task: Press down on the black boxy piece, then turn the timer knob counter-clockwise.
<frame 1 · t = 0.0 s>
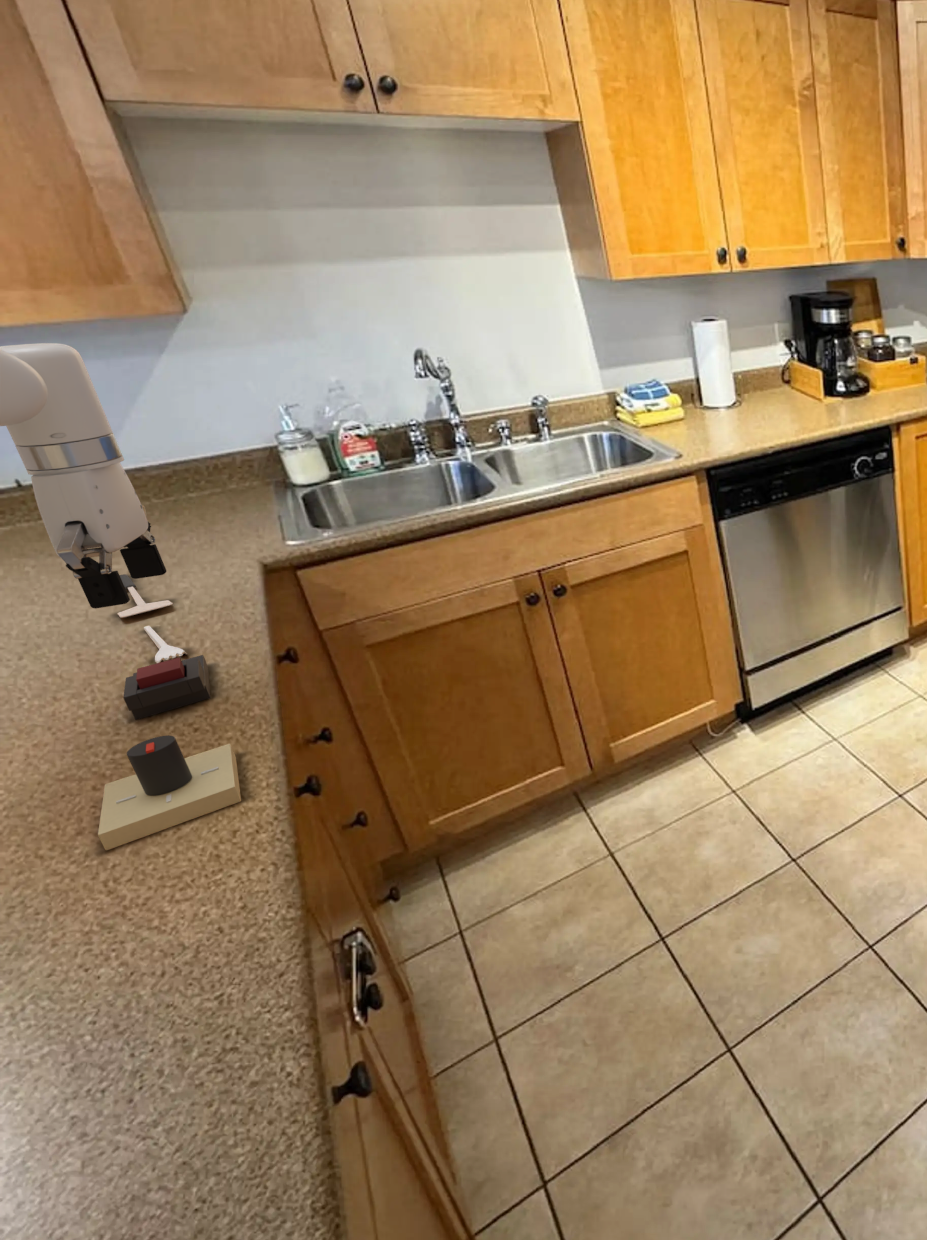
hand: (131, 590, 94), 17 cm above the counter, tool pointing down, fingers open, 9 cm apart
black boxy piece: (174, 692, 104), on the counter
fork: (163, 648, 116), on the counter
stapler top: (161, 673, 100), point 4 cm above the counter, slide at 0.1 cm
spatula: (136, 597, 134), on the counter
timer knob: (159, 764, 81), point 5 cm above the counter, hinge at 0.0°
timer: (176, 800, 83), on the counter
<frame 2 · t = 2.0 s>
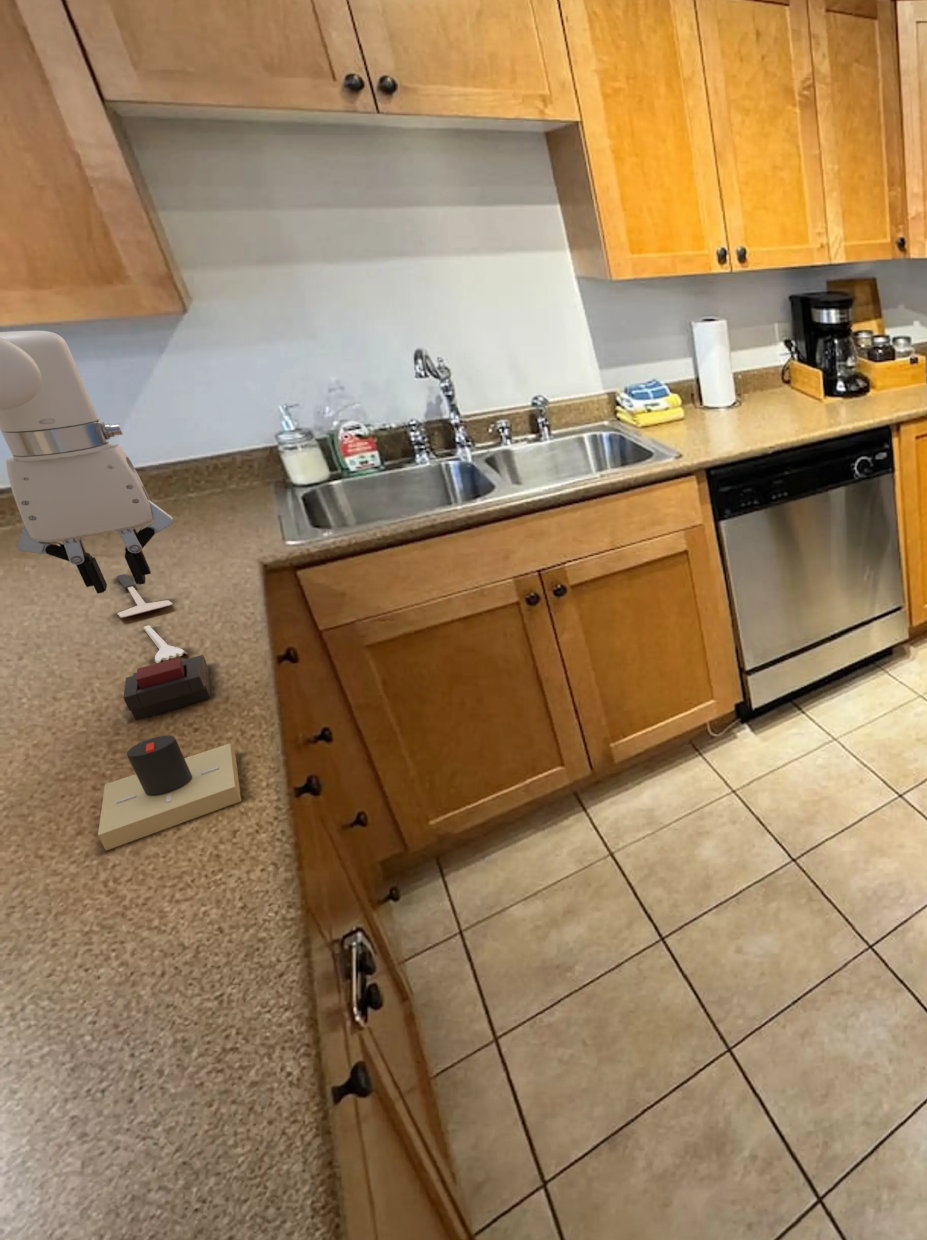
hand: (121, 584, 95), 17 cm above the counter, tool pointing down, fingers closed
nothing on the counter moved.
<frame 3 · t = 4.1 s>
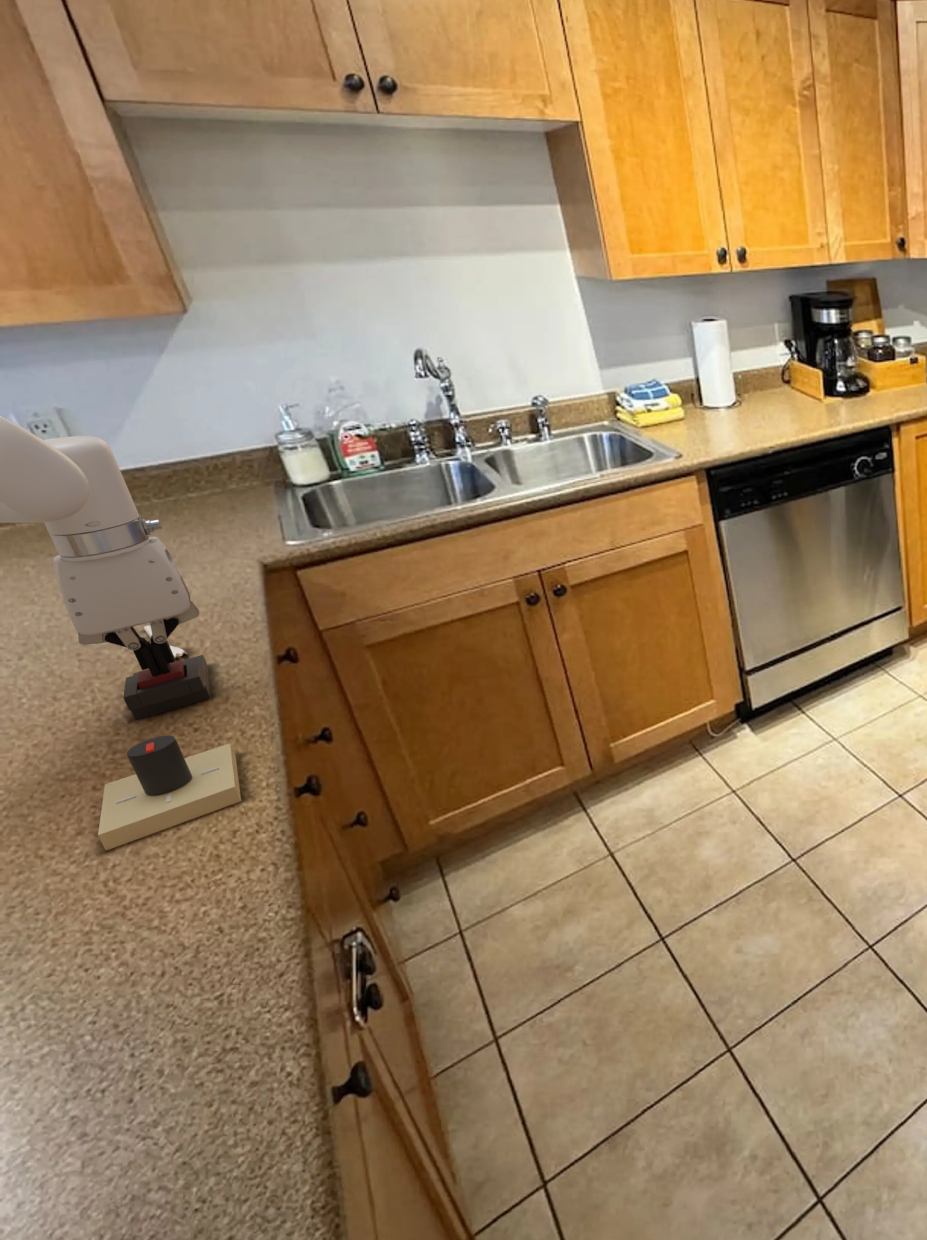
hand: (161, 670, 100), 5 cm above the counter, tool pointing down, fingers closed
stapler top: (162, 677, 100), point 4 cm above the counter, slide at -0.4 cm, touching gripper
everything else where it was.
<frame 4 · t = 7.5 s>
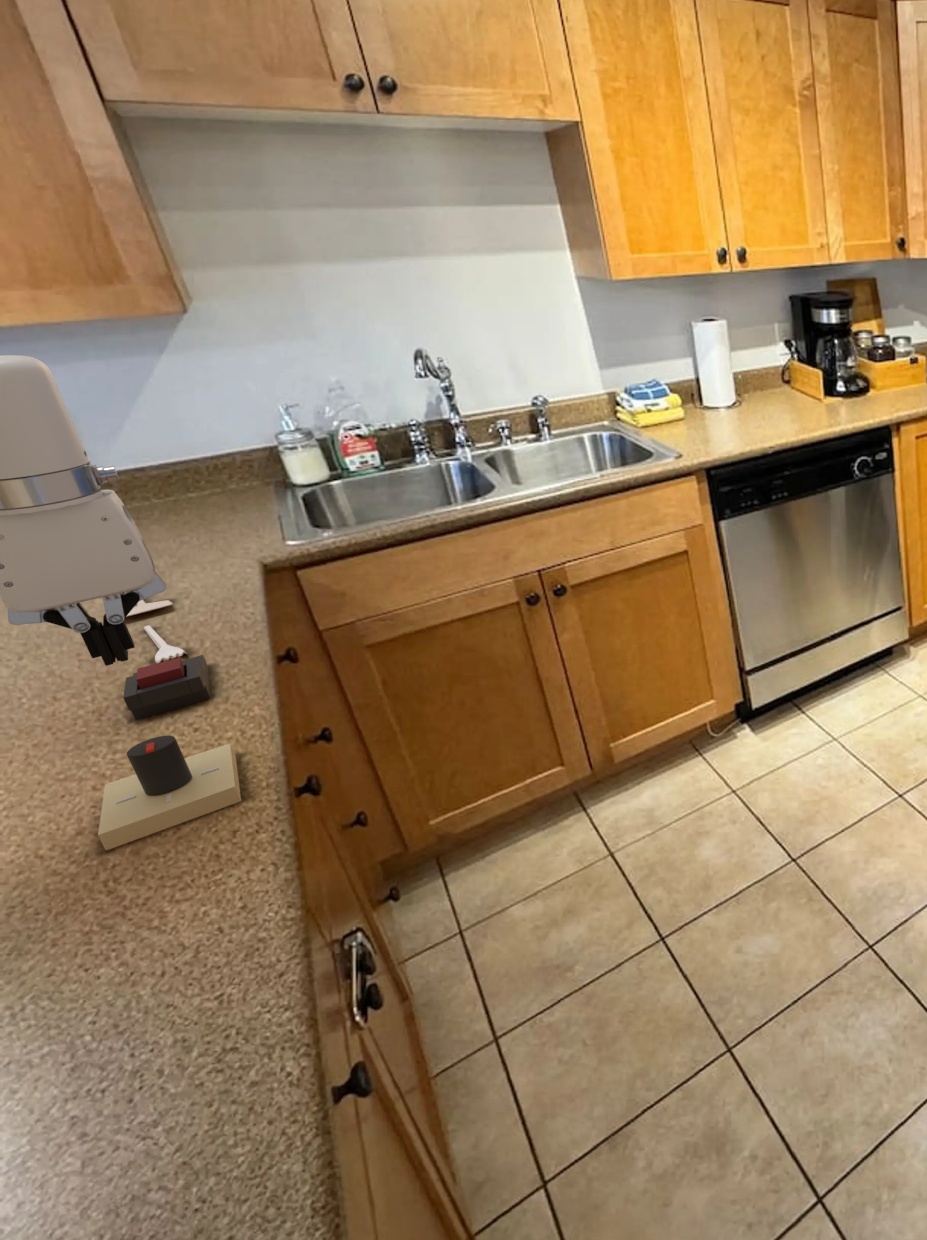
hand: (117, 658, 79), 16 cm above the counter, tool pointing down, fingers closed
stapler top: (161, 673, 100), point 4 cm above the counter, slide at 0.1 cm
everything else where it was.
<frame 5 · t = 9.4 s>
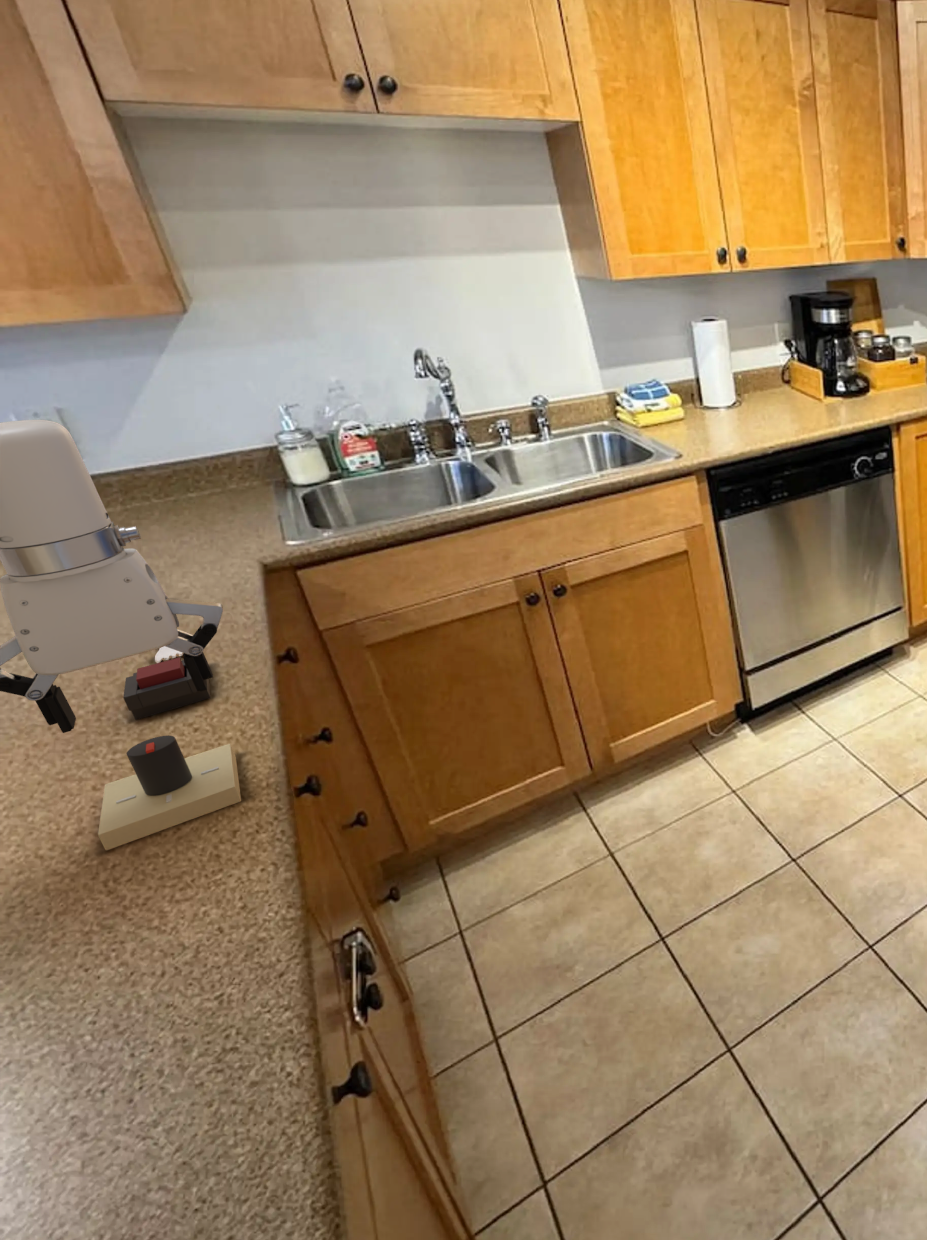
hand: (138, 705, 79), 12 cm above the counter, tool pointing down, fingers open, 9 cm apart
nothing on the counter moved.
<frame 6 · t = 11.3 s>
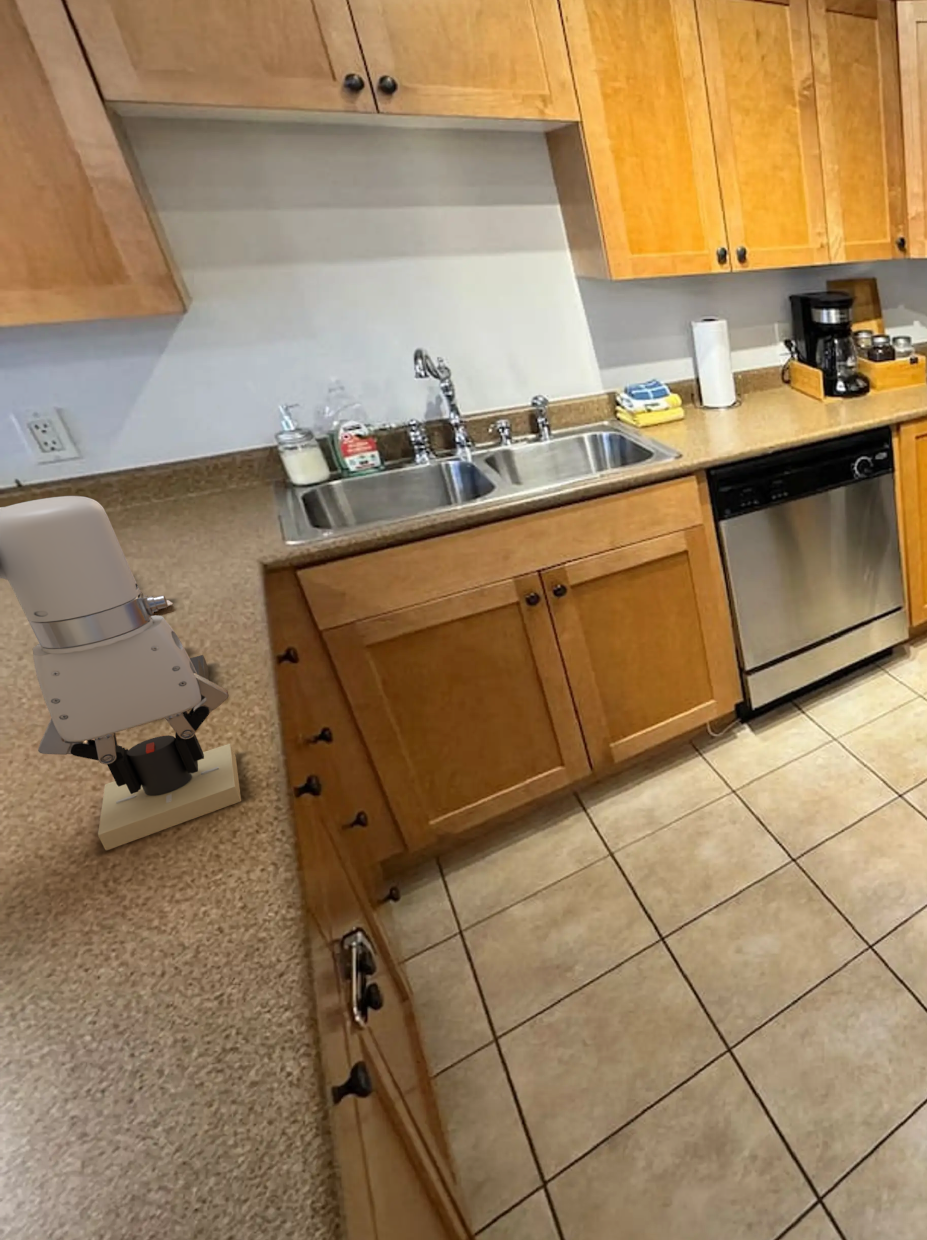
hand: (164, 775, 81), 3 cm above the counter, tool pointing down, fingers closed on timer knob, 3 cm apart
timer knob: (159, 764, 81), point 5 cm above the counter, hinge at 0.0°, touching gripper
everything else where it was.
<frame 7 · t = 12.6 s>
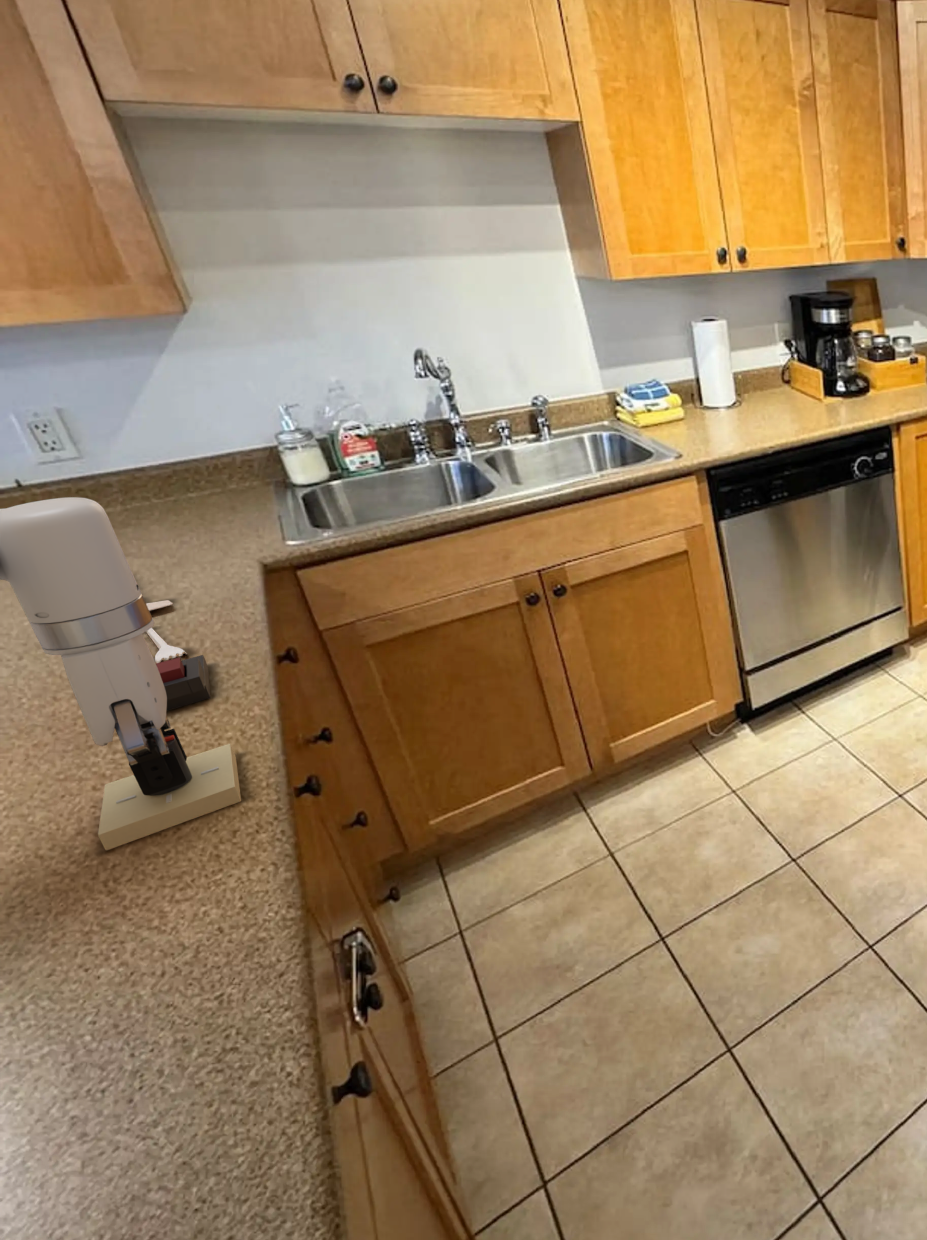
hand: (166, 775, 82), 3 cm above the counter, tool pointing down, fingers open, 4 cm apart
timer knob: (159, 764, 81), point 5 cm above the counter, hinge at 89.4°
everything else where it was.
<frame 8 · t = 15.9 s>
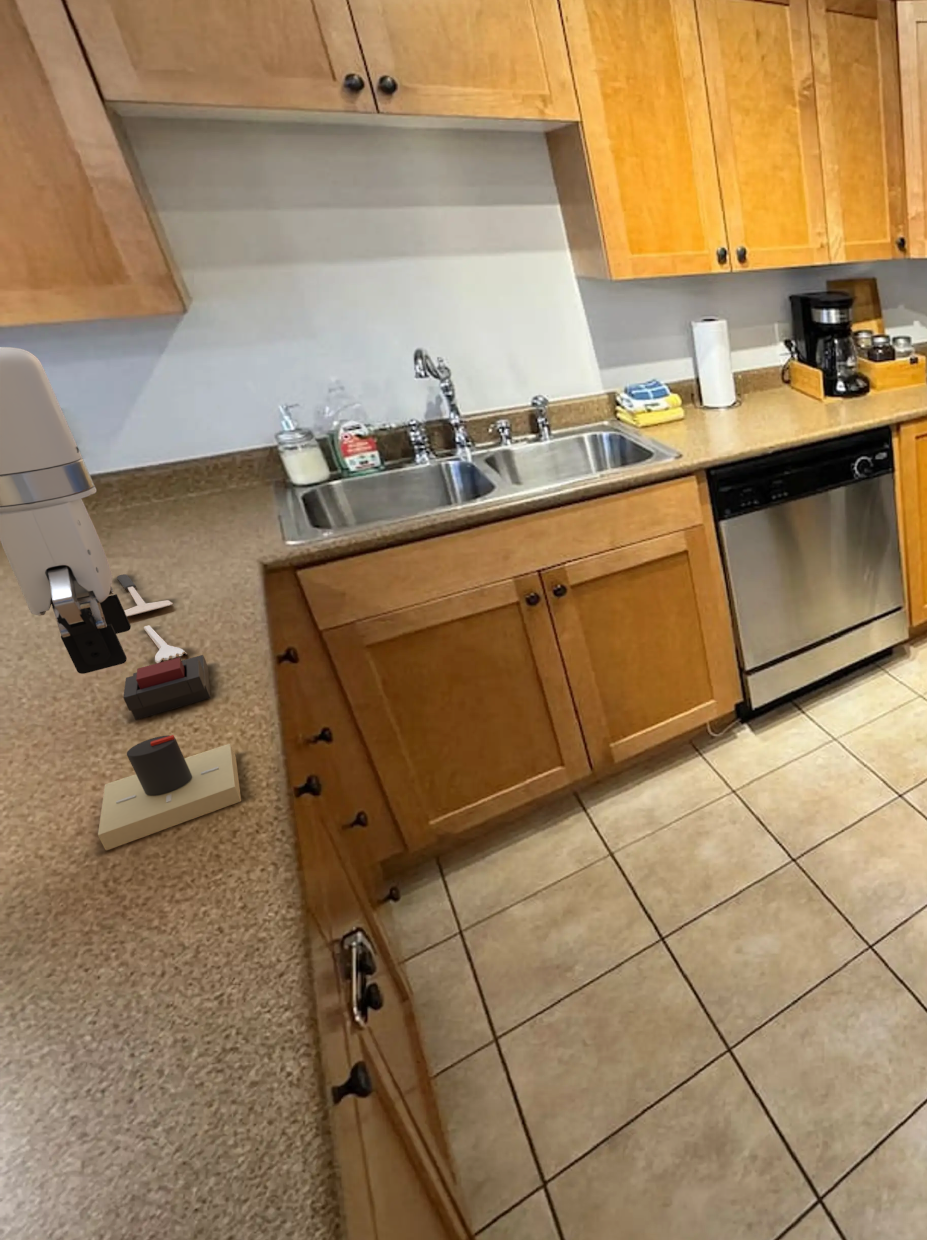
hand: (107, 650, 76), 18 cm above the counter, tool pointing down, fingers open, 9 cm apart
nothing on the counter moved.
at the end: stapler top pushed in 1.3 cm at the most during the clip, back to where it started at the end; stapler top slide at 0.1 cm; timer knob at +89° (first picture: +0°) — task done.
